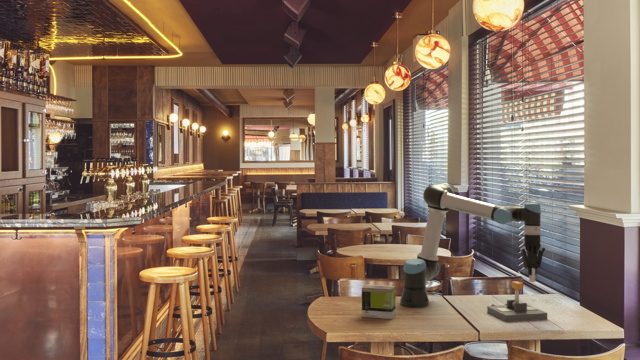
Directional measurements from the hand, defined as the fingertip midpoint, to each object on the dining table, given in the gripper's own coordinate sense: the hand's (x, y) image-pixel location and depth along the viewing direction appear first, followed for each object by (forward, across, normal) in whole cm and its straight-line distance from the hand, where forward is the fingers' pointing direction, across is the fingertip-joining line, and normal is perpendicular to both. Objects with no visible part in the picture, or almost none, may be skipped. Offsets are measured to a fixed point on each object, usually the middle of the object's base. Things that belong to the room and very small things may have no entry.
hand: (532, 281), depth 291 cm
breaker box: (+17, -8, +4) cm, 19 cm away
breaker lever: (+13, -8, 0) cm, 16 cm away
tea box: (+16, -75, +13) cm, 78 cm away
